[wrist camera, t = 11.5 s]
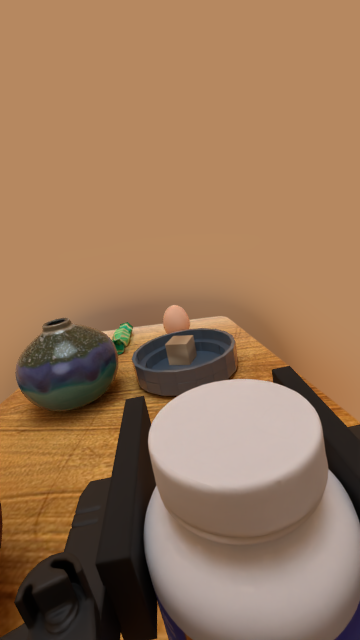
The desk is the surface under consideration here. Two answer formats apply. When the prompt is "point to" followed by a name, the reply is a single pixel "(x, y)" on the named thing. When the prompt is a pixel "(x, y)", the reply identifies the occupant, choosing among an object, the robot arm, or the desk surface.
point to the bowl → (0, 524)
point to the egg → (175, 319)
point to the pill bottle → (249, 519)
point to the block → (181, 350)
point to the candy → (122, 337)
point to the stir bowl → (173, 380)
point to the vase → (67, 366)
